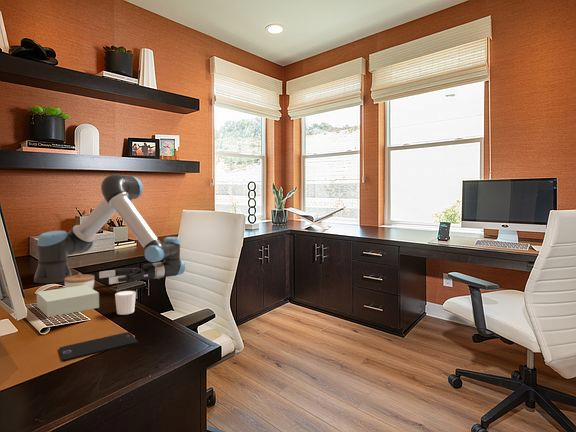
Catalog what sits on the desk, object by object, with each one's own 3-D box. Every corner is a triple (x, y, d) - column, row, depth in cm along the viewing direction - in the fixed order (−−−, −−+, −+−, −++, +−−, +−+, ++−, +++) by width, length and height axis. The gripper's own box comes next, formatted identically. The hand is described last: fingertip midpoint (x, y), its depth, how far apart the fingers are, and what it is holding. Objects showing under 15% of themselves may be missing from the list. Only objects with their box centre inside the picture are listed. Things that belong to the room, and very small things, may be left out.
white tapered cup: (140, 310, 123) (140, 291, 123) (124, 316, 117) (123, 296, 116) (127, 307, 126) (126, 289, 125) (110, 313, 120) (110, 294, 119)
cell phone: (59, 350, 91) (58, 347, 91) (129, 334, 103) (129, 331, 103) (62, 363, 85) (62, 359, 85) (138, 344, 96) (138, 341, 96)
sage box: (36, 308, 125) (36, 292, 124) (85, 299, 136) (85, 284, 136) (47, 319, 114) (47, 301, 113) (99, 308, 126) (98, 292, 125)
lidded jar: (99, 294, 141) (99, 272, 141) (71, 301, 133) (71, 277, 132) (87, 290, 147) (87, 269, 147) (59, 296, 139) (59, 273, 138)
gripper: (164, 283, 152) (113, 292, 137) (142, 274, 170) (95, 280, 155) (164, 267, 152) (113, 274, 137) (142, 259, 170) (95, 264, 155)
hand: (104, 277), depth 146 cm, fingers open, 13 cm apart
